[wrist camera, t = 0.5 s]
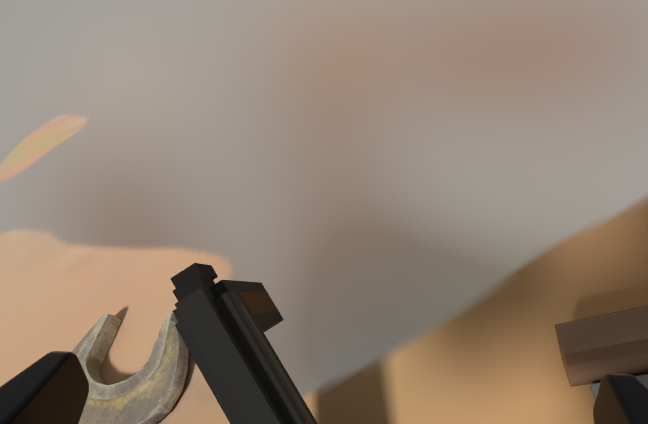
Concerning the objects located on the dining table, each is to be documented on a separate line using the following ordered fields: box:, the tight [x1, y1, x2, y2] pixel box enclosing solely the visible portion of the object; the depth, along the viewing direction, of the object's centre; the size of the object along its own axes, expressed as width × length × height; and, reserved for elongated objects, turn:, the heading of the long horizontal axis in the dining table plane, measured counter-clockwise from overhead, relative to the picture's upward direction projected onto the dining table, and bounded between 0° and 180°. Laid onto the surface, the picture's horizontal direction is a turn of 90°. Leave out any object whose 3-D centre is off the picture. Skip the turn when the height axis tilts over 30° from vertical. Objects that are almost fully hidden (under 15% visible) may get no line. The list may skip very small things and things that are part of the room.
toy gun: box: [171, 263, 317, 424], centre depth 25 cm, size 2×13×10 cm
